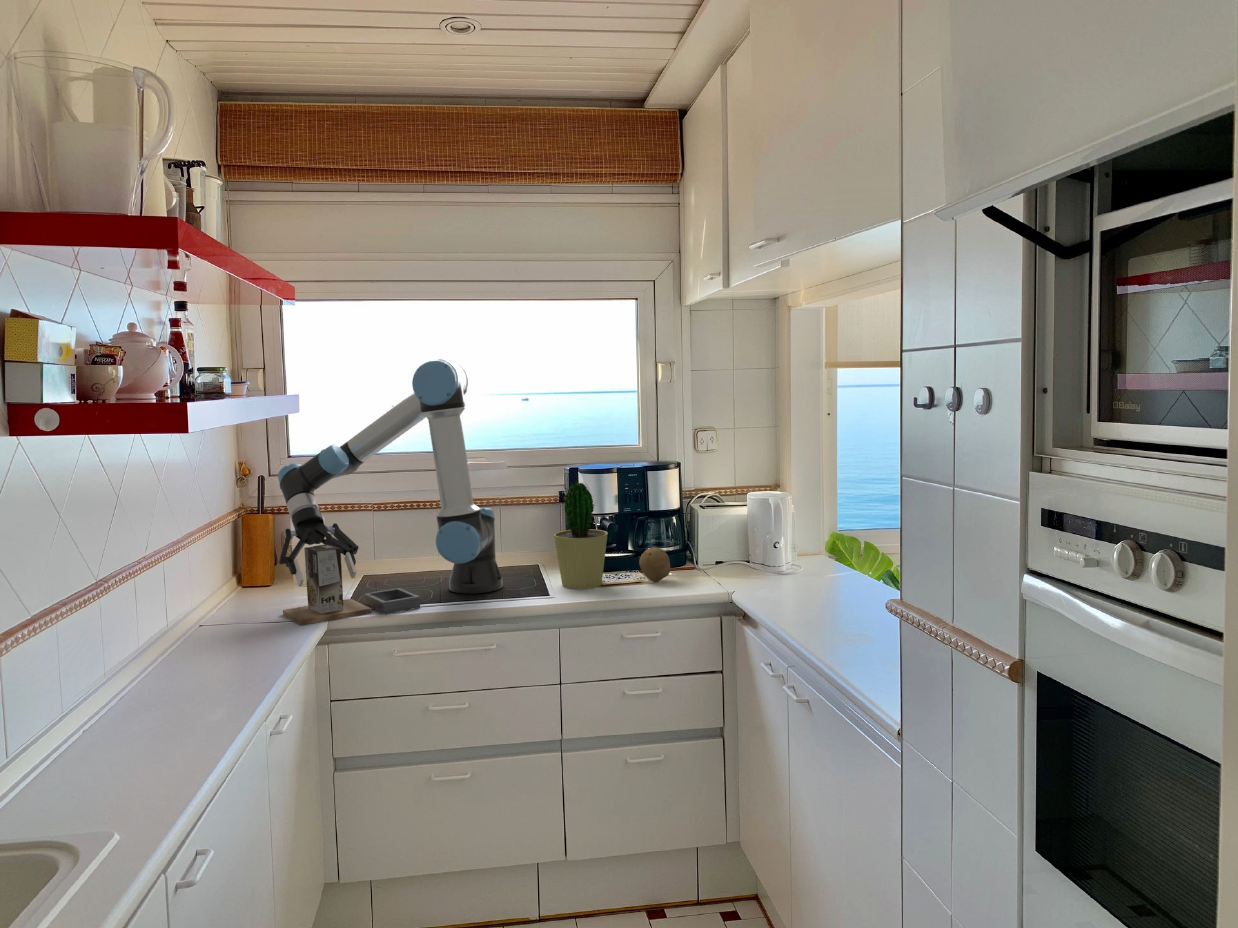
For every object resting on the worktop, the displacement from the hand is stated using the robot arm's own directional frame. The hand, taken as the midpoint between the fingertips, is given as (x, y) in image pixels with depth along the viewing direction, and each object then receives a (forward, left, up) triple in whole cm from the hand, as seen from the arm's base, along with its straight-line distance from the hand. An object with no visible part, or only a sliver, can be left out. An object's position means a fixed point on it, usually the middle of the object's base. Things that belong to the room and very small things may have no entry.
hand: (328, 579), depth 235 cm
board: (0, -2, -9) cm, 10 cm away
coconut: (-86, +26, -10) cm, 90 cm away
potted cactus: (-68, +15, -10) cm, 70 cm away
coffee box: (0, -2, -8) cm, 9 cm away
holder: (-16, +2, -9) cm, 19 cm away
